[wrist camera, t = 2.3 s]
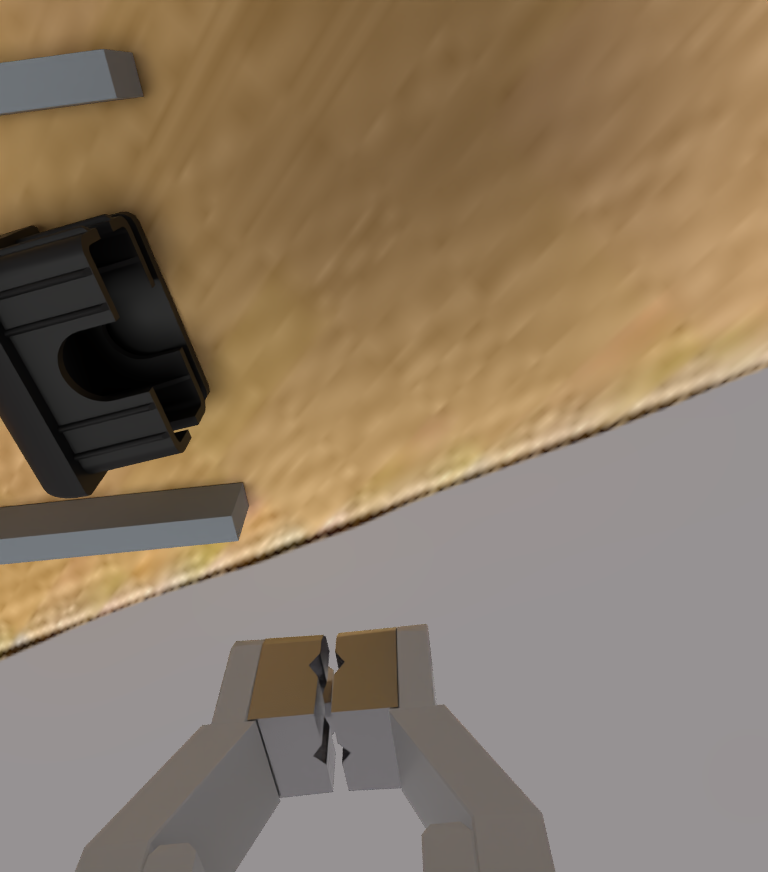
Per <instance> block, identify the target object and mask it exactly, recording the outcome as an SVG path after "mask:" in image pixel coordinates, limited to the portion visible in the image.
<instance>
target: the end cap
mask: <svg viewBox="0 0 768 872" xmlns="http://www.w3.org/2000/svg"><path fill="white" fill-rule="evenodd" d="M209 392H210V391H209V385H208V383H207V380H206V378H205V376H204V373H203V371H202V369H201V366H200V364H199V362H198V359H197V357H196V354H195V352H194V350H193V347H192V345H191V343H190V340H189V338H188V336H187V333H186V331H185V328H184V326H183V324H182V321H181V319H180V317H179V314H178V312H177V310H176V307H175V305H174V302H173V300H172V298H171V295H170V293H169V291H168V288H167V286H166V284H165V281H164V279H163V276H162V274H161V272H160V269H159V267H158V265H157V262H156V260H155V258H154V255H153V253H152V250H151V248H150V246H149V243H148V241H147V239H146V236H145V234H144V232H143V229H142V227H141V224H140V222H139V221H138V219H137V218H136V216H135V215H133V214H131V213H129V212H119V213H115V214H112V215H106V214H104V215H100V216H97V217H93V218H90V219H86V220H83V221H79V222H76V223H72V224H69V225H65V226H62V227H58V228H55V229H51V230H48V231H44V232H41V233H40V232H39V230H38V229H37V227H35V226H29V227H26V228H22V229H19V230H16V231H13V232H9V233H6V234H3V235H0V417H1V419H2V421H3V422H4V424H5V426H6V427H7V429H8V431H9V432H10V434H11V436H12V437H13V439H14V441H15V442H16V444H17V445H18V447H19V449H20V450H21V452H22V454H23V455H24V457H25V459H26V460H27V462H28V464H29V465H30V467H31V469H32V470H33V472H34V474H35V475H36V477H37V479H38V480H39V482H40V484H41V485H42V487H43V488H44V490H45V491H46V492H47V493H48V494H50V495H52V496H55V497H59V498H78V497H83V496H89V495H91V494H92V493H93V491H94V490H95V489H96V487H97V486H98V484H99V483H100V481H101V480H102V479H103V477H104V476H105V474H106V473H107V471H108V470H112V469H116V468H120V467H124V466H128V465H133V464H137V463H141V462H145V461H149V460H153V459H158V458H162V457H166V456H170V455H174V454H178V453H183V452H184V451H185V449H186V447H187V445H188V443H189V442H190V440H191V435H190V433H189V431H188V430H184V431H180V432H176V433H174V432H173V431H174V430H178V429H182V428H186V427H191V426H195V425H198V424H199V422H200V421H201V419H202V417H203V415H204V413H205V399H206V397H207V395H208V393H209Z"/></svg>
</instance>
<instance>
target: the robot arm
mask: <svg viewBox="0 0 768 872" xmlns="http://www.w3.org/2000/svg"><path fill="white" fill-rule="evenodd" d="M335 653H336V658H337V663H338V668H339V669H338V671H337V672H336V673H335V674H334V670H333V669H331V668H330V667H329V666H328V663H329V647H328V643H327V639H326V636H324V635H315V636H301V637H300V636H299V637H284V638H270V639H265V640H250V641H236V642H235V644H234V645H233V647H232V648H231V651H230V655H229V659H228V662H227V666H226V670H225V674H224V678H223V681H222V685H221V689H220V693H219V697H218V701H217V704H216V709H215V712H214V716H213V720H212V724H210V725H202V727H200V728H199V729H198V730H197V731H196V732H195V734H193V736H192V737H191V738H190V739H189V740H188V741H187V742H186V743H185V744H184V745H183V746H182V747H181V748H180V749H179V750H178V751H177V752H176V753H175V754H174V755H173V756H172V757H171V759H169V760H168V761H167V762H166V763H165V765H164V766H163V767H162V768H161V769H160V770H159V771H158V772H157V773H156V774H155V775H154V776H153V777H152V778H151V779H150V780H149V781H148V782H147V783H146V784H145V785H144V786H143V788H142V789H140V790H139V791H138V793H137V794H136V795H135V796H134V797H133V798H132V799H131V800H130V801H129V802H128V803H127V804H126V805H125V806H124V807H123V808H122V809H121V810H120V811H119V812H118V813H117V814H116V815H115V816H114V817H113V818H112V819H111V820H110V822H109V823H108V824H107V825H106V826H105V827H104V828H103V829H102V830H101V831H100V832H99V833H98V834H97V835H96V836H95V837H94V838H93V839H92V840H91V841H90V842H89V843H88V844H87V845H86V847H84V850H83V853H82V855H81V857H80V860H79V863H78V865H77V868H76V870H75V872H235V871H236V869H237V868H238V866H239V865H240V863H241V861H242V860H243V858H244V857H245V855H246V853H247V852H248V851H249V849H250V847H251V846H252V844H253V843H254V841H255V840H256V838H257V837H258V835H259V833H260V832H261V830H262V829H263V827H264V826H265V824H266V823H267V821H268V819H269V818H270V817H271V815H272V813H273V812H274V810H275V809H276V807H277V806H278V804H279V803H280V799H279V798H282V797H292V796H301V795H310V794H319V793H329V792H333V784H334V769H335V755H336V754H335V748H334V744H333V739H332V734H333V733H334V732H335V733H336V737H337V742H338V744H340V745H341V746H342V747H343V759H342V764H343V768H344V773H345V777H346V781H347V785H348V789H349V791H354V790H374V789H392V788H402V791H403V793H404V795H405V796H406V798H407V799H408V801H409V803H410V804H411V805H412V807H413V809H414V810H415V812H416V814H417V815H418V817H419V818H420V820H421V821H422V823H423V825H424V826H425V828H426V830H425V831H424V833H423V834H422V853H423V872H555V868H554V864H553V859H552V855H551V850H550V846H549V842H548V837H547V833H546V828H545V824H544V819H543V815H542V813H541V812H540V810H538V808H537V807H536V806H535V805H534V804H533V803H532V802H531V801H530V799H529V798H528V797H527V796H526V795H525V794H524V793H523V792H522V790H521V789H520V788H519V787H518V786H517V785H516V784H515V783H514V782H513V781H512V779H511V778H510V777H509V776H508V775H507V774H506V773H505V772H504V770H503V769H502V768H501V767H500V766H499V765H498V764H497V763H496V762H495V761H494V759H493V758H492V757H491V756H490V755H489V754H488V753H487V752H486V751H485V749H484V748H483V747H482V746H481V745H480V744H479V743H478V742H477V740H476V739H475V738H474V737H473V736H472V735H471V734H470V733H469V732H468V731H467V729H466V728H465V727H464V726H463V725H462V724H461V723H460V721H459V720H458V719H457V718H456V717H455V716H454V715H453V714H452V713H451V712H450V710H449V709H448V708H447V707H446V706H445V705H437V704H436V695H435V686H434V677H433V669H432V659H431V651H430V641H429V632H428V626H427V625H426V624H421V625H412V626H402V627H397V628H396V627H393V628H383V629H374V630H364V631H354V632H345V633H339V634H338V635H337V638H336V649H335Z"/></svg>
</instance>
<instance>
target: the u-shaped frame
mask: <svg viewBox="0 0 768 872" xmlns="http://www.w3.org/2000/svg"><path fill="white" fill-rule="evenodd" d="M137 97H144V96H143V92H142V89H141V85H140V81H139V77H138V73H137V69H136V65H135V61H134V57H133V53H131V52H123V51H115V50H107V49H100V50H93V51H85V52H78V53H71V54H63V55H56V56H49V57H41V58H34V59H27V60H19V61H12V62H4V63H0V115H8V114H15V113H23V112H31V111H38V110H46V109H53V108H61V107H68V106H76V105H84V104H91V103H99V102H106V101H114V100H122V99H129V98H137ZM248 507H249V505H248V501H247V497H246V493H245V489H244V486H243V483H234V484H224V485H214V486H205V487H195V488H185V489H175V490H166V491H156V492H146V493H137V494H127V495H117V496H108V497H98V498H88V499H79V500H69V501H59V502H50V503H40V504H30V505H21V506H11V507H1V508H0V564H10V563H21V562H31V561H41V560H51V559H61V558H71V557H81V556H91V555H101V554H111V553H121V552H131V551H142V550H152V549H162V548H172V547H182V546H192V545H202V544H212V543H222V542H232V541H238V540H239V537H240V534H241V530H242V527H243V524H244V520H245V517H246V514H247V511H248Z"/></svg>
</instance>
